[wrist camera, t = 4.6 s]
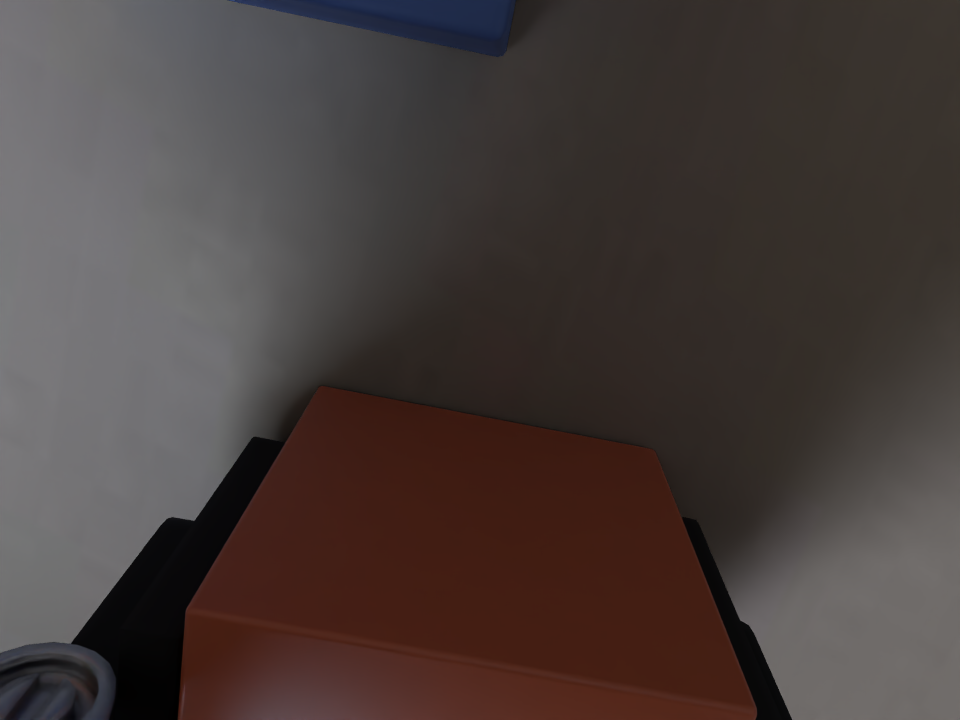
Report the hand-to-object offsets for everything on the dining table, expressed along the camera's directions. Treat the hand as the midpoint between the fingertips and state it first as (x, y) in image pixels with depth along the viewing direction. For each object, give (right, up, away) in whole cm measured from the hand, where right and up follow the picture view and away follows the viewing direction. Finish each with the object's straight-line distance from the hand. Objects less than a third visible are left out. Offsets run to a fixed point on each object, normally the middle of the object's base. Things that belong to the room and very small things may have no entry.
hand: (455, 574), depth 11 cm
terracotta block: (0, 0, 0) cm, 0 cm away
